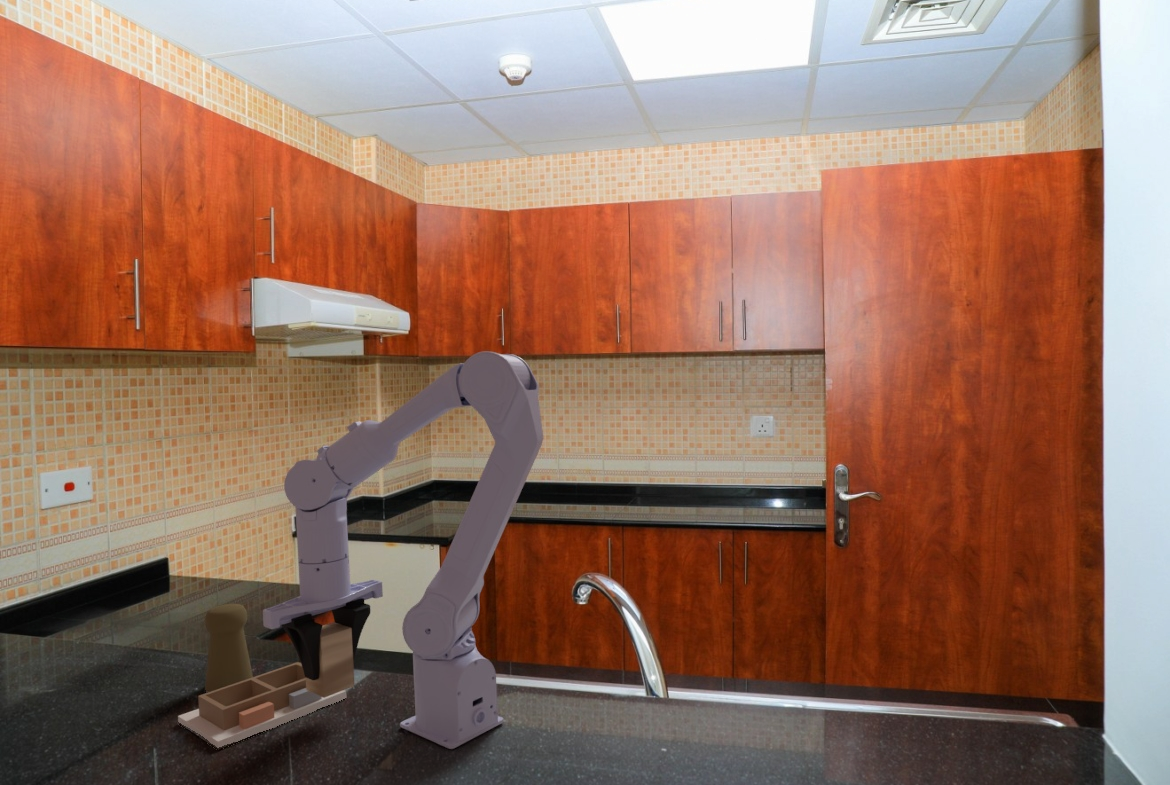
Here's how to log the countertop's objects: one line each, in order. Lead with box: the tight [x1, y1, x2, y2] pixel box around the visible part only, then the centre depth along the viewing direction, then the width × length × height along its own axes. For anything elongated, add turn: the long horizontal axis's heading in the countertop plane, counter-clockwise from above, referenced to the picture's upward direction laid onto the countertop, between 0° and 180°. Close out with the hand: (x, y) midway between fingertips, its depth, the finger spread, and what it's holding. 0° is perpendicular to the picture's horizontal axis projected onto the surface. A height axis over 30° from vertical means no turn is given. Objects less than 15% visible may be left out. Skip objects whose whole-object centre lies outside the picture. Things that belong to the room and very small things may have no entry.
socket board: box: [177, 661, 347, 748], centre depth 90 cm, size 11×16×3 cm
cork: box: [204, 603, 254, 692], centre depth 99 cm, size 6×6×11 cm
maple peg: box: [306, 621, 355, 698], centre depth 87 cm, size 4×4×7 cm
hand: (329, 671), depth 87 cm, fingers closed on maple peg, 4 cm apart
